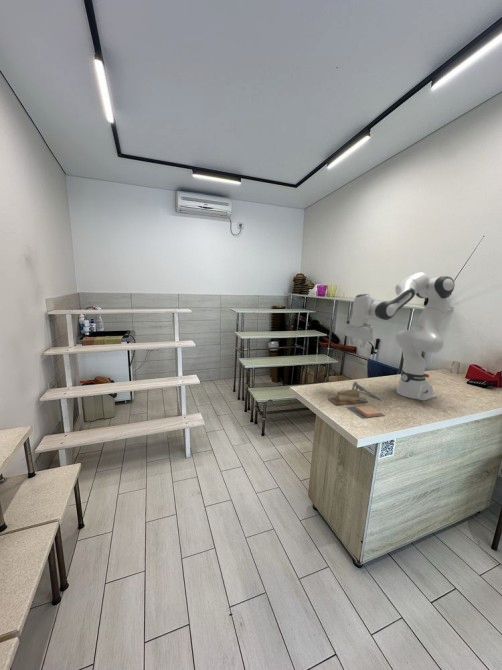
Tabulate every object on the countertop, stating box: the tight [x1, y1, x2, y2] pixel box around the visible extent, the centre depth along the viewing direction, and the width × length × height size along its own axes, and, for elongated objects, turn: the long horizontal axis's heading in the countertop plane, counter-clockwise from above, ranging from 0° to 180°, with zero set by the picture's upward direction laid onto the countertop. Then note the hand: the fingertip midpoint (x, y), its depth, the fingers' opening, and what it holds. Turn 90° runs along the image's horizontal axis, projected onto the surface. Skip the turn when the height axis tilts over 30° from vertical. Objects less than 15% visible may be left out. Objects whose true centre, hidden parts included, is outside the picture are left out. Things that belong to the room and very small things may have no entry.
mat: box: [346, 405, 386, 420], centre depth 129 cm, size 14×12×1 cm
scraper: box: [336, 388, 367, 402], centre depth 141 cm, size 5×16×5 cm, turn 106°
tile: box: [355, 405, 382, 418], centre depth 128 cm, size 8×2×8 cm
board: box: [327, 396, 369, 407], centre depth 141 cm, size 20×8×1 cm, turn 106°
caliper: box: [351, 380, 385, 402], centre depth 151 cm, size 20×1×6 cm, turn 34°
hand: (356, 346), depth 148 cm, fingers open, 8 cm apart
